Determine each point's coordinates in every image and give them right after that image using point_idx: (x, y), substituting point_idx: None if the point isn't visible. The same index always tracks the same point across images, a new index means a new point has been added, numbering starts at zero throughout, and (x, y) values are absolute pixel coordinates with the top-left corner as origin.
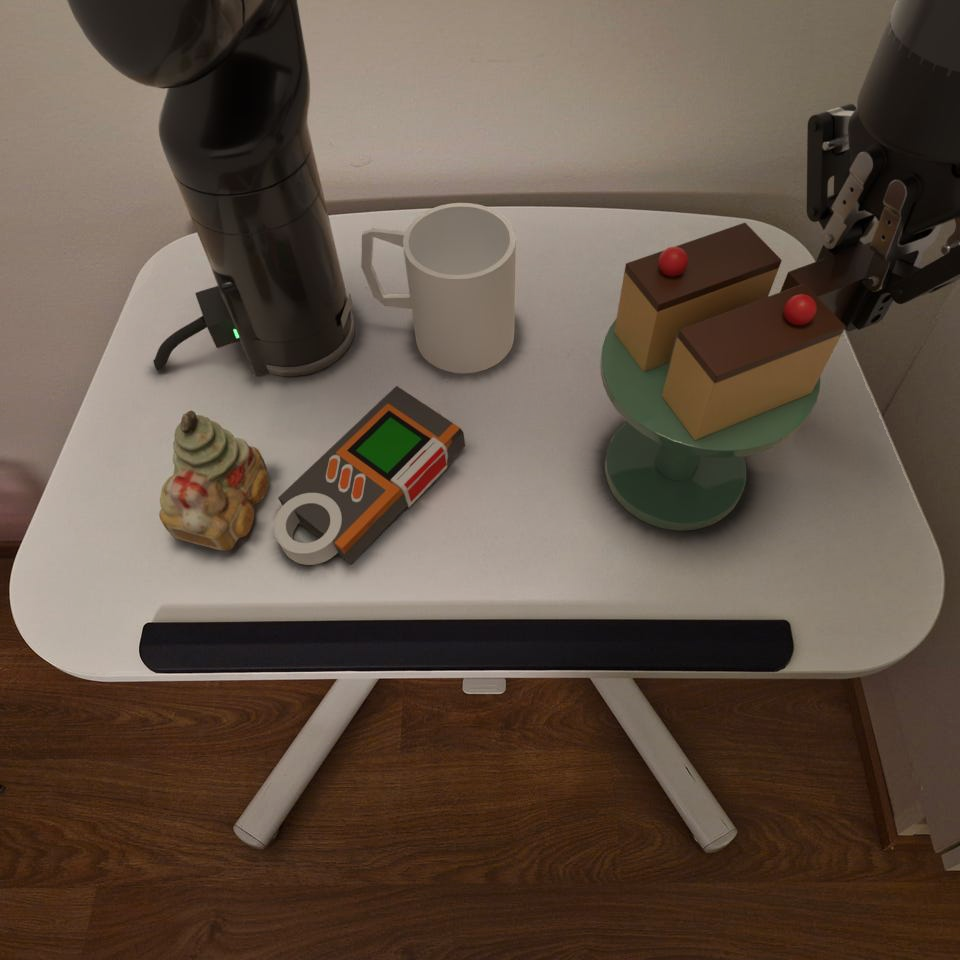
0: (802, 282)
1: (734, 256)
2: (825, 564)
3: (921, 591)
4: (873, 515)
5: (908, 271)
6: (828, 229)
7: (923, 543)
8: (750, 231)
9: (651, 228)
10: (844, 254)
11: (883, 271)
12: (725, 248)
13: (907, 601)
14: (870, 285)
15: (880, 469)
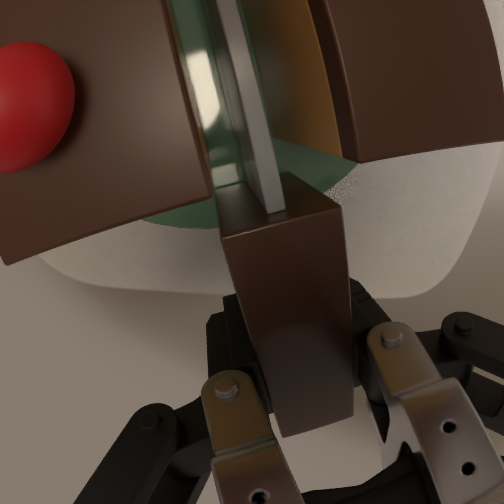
0: (288, 228)
1: (409, 16)
2: None
3: (60, 265)
4: (127, 256)
5: (208, 455)
6: (411, 345)
7: (100, 284)
8: (484, 133)
9: (482, 183)
10: (344, 353)
11: (215, 425)
12: (442, 13)
13: (51, 251)
14: (221, 379)
15: (175, 280)
